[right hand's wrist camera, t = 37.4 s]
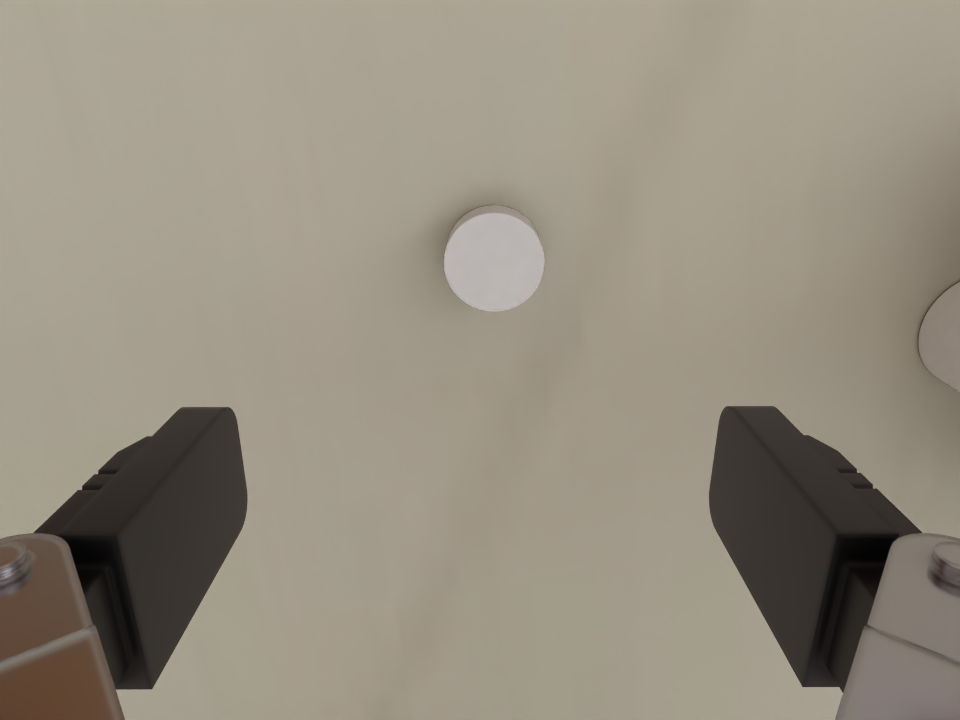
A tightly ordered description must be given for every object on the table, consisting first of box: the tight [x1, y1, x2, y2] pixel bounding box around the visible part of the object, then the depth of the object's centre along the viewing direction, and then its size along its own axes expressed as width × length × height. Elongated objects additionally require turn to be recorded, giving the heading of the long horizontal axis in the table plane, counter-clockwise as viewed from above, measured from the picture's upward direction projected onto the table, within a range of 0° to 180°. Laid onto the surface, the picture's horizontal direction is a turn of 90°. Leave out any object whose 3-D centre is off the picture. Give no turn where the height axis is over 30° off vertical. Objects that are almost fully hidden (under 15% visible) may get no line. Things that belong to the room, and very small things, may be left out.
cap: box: [444, 205, 545, 312], centre depth 25 cm, size 4×4×2 cm
